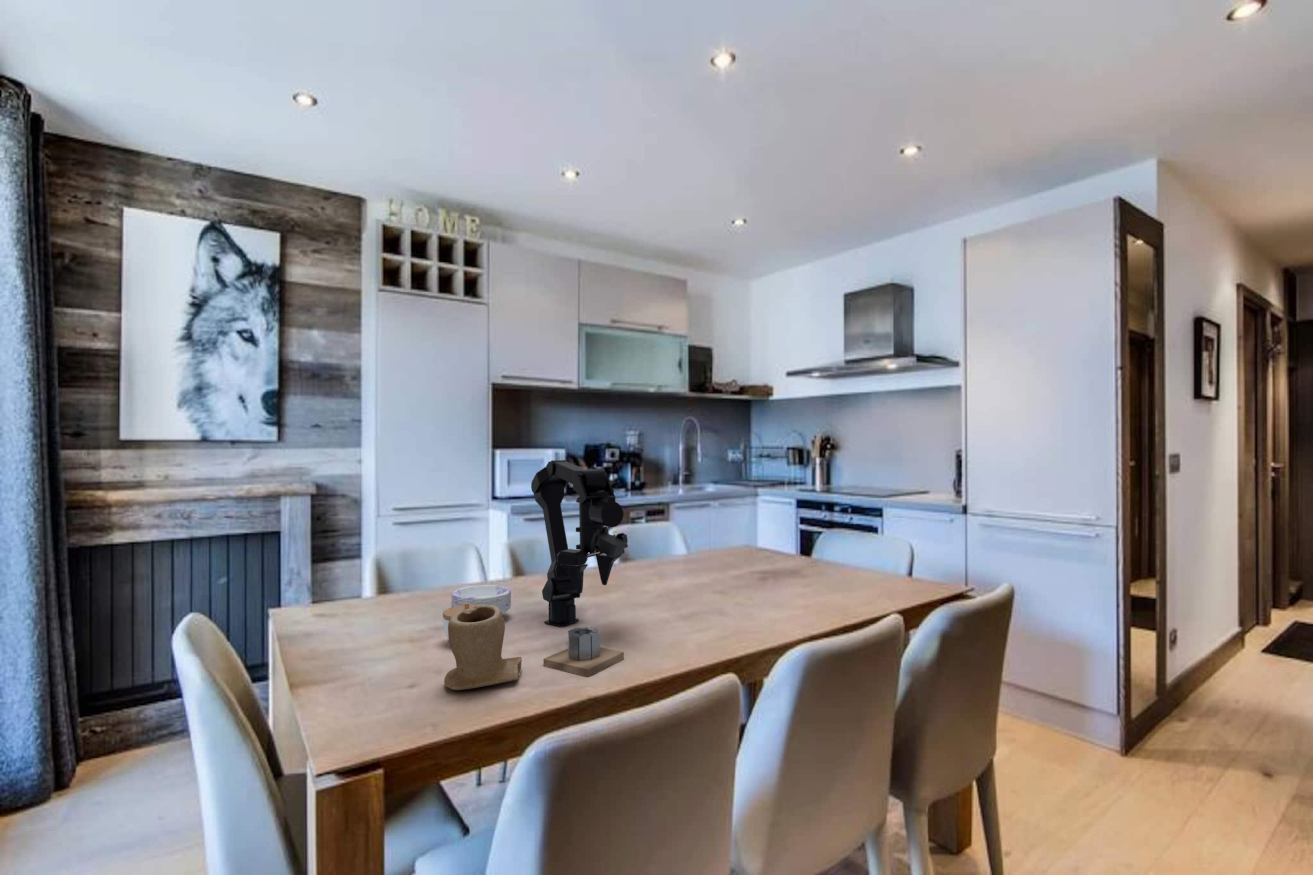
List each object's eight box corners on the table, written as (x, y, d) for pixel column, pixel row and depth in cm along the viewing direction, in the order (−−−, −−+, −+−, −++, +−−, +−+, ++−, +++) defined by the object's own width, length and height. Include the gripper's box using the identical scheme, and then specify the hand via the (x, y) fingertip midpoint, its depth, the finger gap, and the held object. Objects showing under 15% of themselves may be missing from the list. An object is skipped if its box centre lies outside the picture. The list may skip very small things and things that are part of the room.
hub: (562, 657, 132) (562, 633, 132) (582, 648, 137) (581, 625, 137) (585, 662, 128) (585, 638, 128) (605, 653, 134) (604, 630, 134)
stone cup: (445, 701, 114) (444, 619, 114) (443, 678, 125) (443, 603, 125) (529, 689, 119) (528, 610, 119) (521, 668, 130) (520, 596, 130)
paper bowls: (523, 617, 168) (523, 587, 168) (479, 632, 155) (479, 600, 155) (483, 609, 176) (483, 581, 176) (439, 623, 164) (438, 592, 164)
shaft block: (543, 665, 131) (543, 639, 131) (580, 649, 141) (580, 625, 141) (588, 677, 124) (587, 649, 124) (623, 658, 135) (623, 633, 135)
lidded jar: (499, 638, 150) (499, 599, 150) (472, 652, 140) (472, 610, 140) (462, 634, 154) (461, 596, 154) (433, 648, 143) (432, 607, 144)
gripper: (593, 529, 136) (594, 601, 136) (641, 520, 152) (642, 584, 152) (555, 526, 142) (555, 595, 142) (605, 517, 158) (606, 579, 158)
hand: (592, 588), depth 148 cm, fingers open, 9 cm apart
